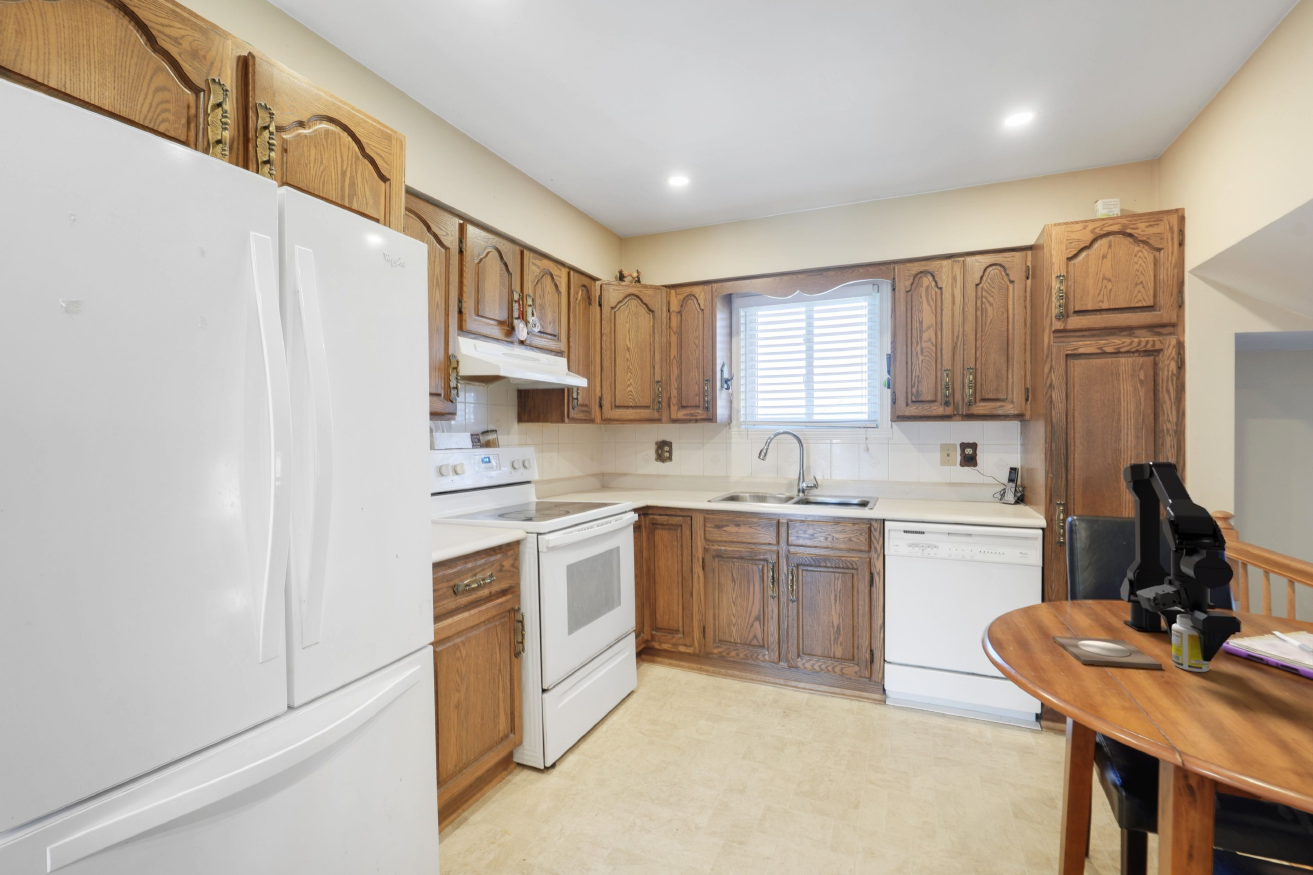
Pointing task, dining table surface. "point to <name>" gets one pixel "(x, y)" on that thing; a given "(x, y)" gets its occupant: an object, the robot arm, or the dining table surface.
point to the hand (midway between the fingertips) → (1190, 652)
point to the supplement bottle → (1187, 646)
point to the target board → (1106, 652)
